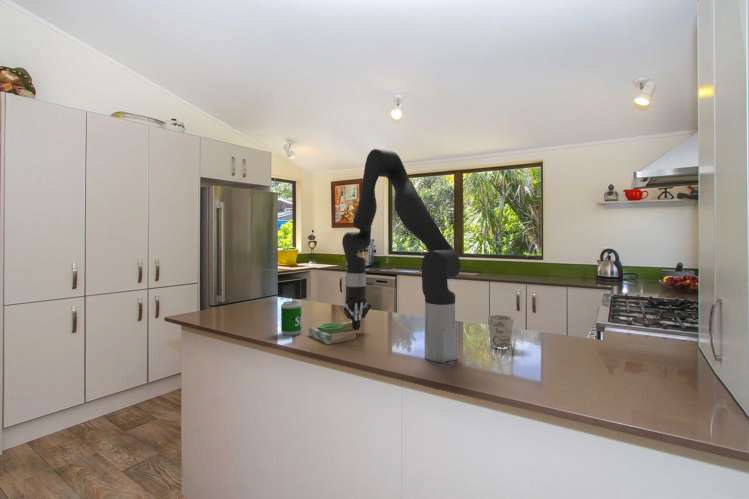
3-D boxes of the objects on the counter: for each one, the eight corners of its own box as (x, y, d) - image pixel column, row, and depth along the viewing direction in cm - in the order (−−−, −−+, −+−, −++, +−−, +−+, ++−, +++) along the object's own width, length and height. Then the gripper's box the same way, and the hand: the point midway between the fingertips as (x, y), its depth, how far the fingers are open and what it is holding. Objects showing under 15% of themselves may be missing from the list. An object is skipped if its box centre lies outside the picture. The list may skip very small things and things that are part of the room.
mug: (484, 348, 134) (485, 318, 134) (492, 339, 146) (492, 312, 145) (510, 352, 131) (511, 321, 130) (516, 342, 142) (517, 314, 141)
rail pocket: (376, 335, 150) (376, 327, 150) (327, 344, 139) (327, 335, 139) (355, 328, 162) (355, 320, 162) (309, 335, 151) (309, 327, 151)
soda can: (290, 337, 148) (290, 305, 147) (277, 334, 152) (276, 302, 152) (305, 333, 154) (305, 302, 153) (292, 330, 158) (292, 300, 158)
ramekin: (346, 334, 152) (346, 323, 152) (340, 340, 143) (340, 328, 143) (323, 333, 153) (323, 322, 153) (316, 339, 145) (316, 327, 144)
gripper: (346, 287, 146) (346, 334, 147) (376, 284, 154) (376, 329, 155) (336, 284, 153) (336, 330, 153) (365, 282, 160) (365, 325, 161)
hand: (356, 329), depth 154 cm, fingers closed
